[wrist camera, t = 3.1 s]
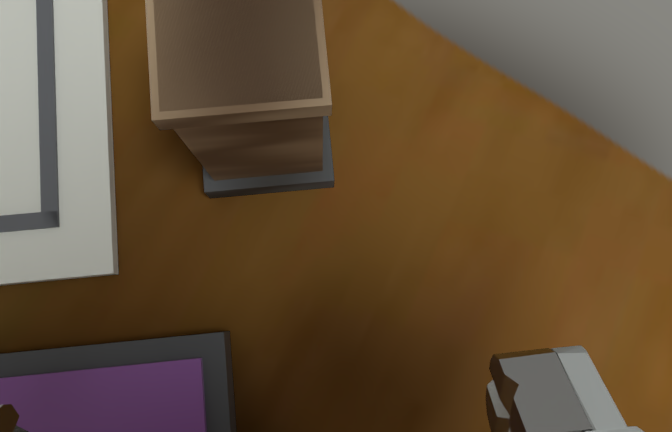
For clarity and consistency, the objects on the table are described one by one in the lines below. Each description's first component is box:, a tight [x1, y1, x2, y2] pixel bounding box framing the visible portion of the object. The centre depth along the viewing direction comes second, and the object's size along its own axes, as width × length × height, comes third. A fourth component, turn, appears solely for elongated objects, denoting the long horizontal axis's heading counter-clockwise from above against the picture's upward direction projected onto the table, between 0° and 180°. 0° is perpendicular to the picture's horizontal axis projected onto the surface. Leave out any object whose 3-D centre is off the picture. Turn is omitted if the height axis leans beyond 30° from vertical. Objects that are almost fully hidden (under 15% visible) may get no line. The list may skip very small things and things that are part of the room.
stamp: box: [145, 0, 334, 198], centre depth 20 cm, size 5×5×9 cm
